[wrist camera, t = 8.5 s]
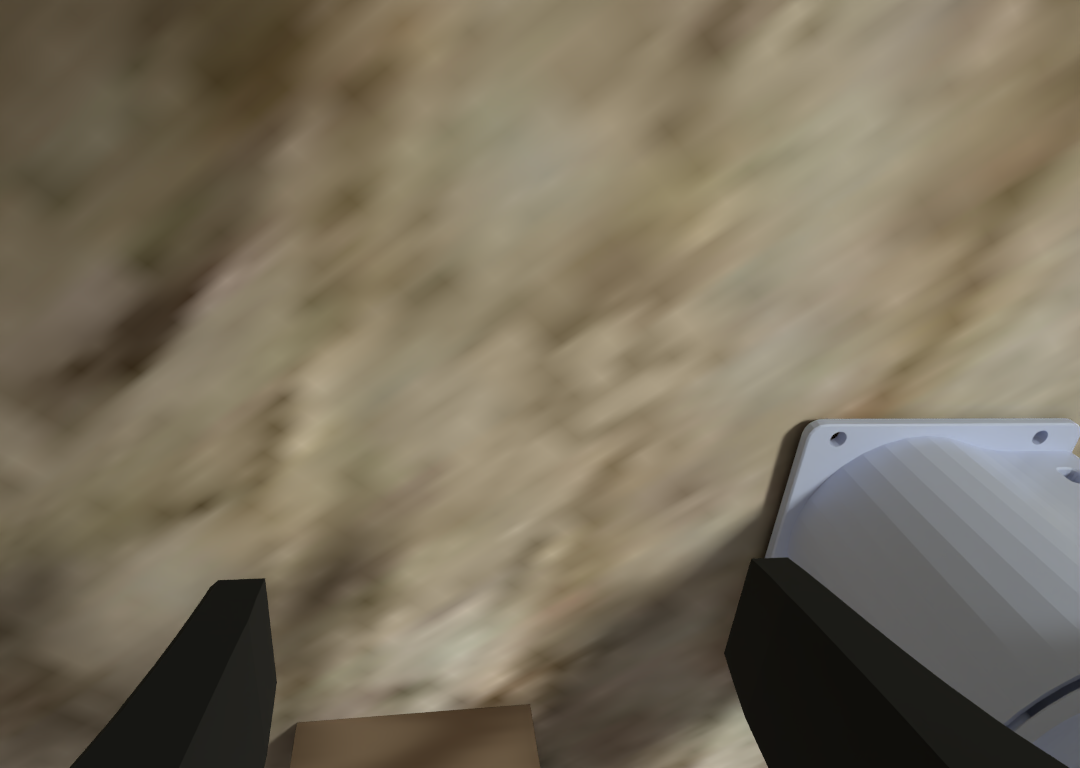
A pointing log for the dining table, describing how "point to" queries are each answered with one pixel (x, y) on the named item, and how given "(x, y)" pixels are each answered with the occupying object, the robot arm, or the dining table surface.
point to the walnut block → (421, 740)
